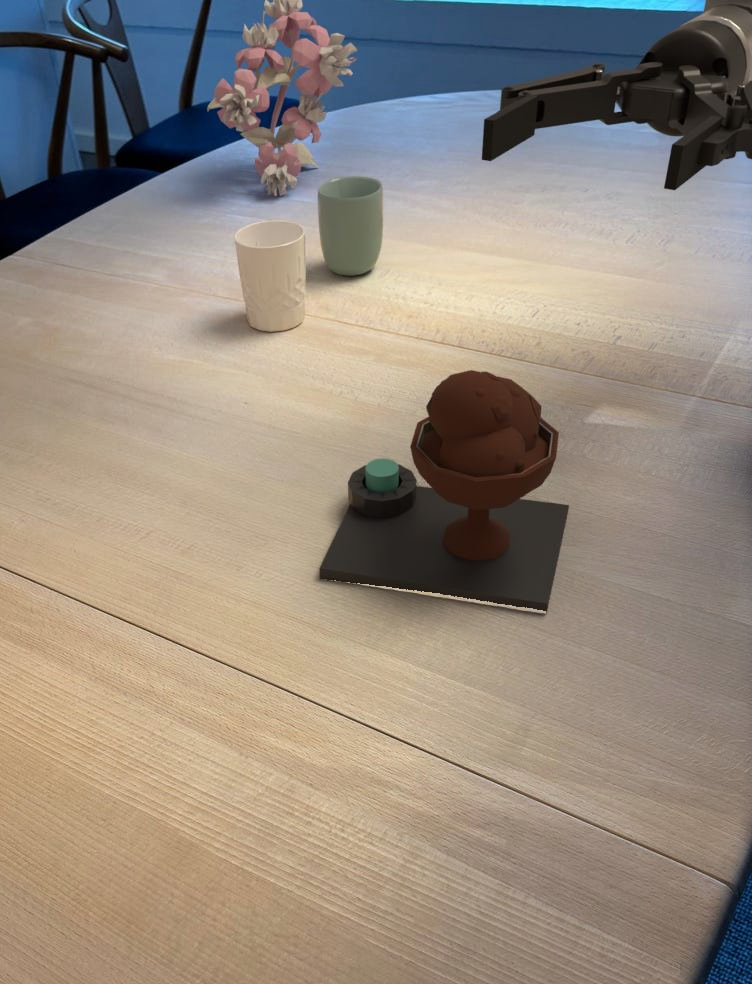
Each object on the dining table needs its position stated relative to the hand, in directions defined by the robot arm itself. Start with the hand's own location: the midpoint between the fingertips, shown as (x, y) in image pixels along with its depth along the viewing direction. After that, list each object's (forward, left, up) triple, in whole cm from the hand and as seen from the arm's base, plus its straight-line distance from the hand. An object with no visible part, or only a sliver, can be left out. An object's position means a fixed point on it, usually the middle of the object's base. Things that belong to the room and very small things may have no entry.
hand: (575, 153), depth 67 cm
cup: (+29, -44, -28) cm, 60 cm away
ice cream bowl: (+3, +9, -27) cm, 29 cm away
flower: (+48, -74, -28) cm, 92 cm away
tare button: (+12, +5, -25) cm, 29 cm away
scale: (+6, +9, -28) cm, 30 cm away
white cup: (+34, -29, -28) cm, 53 cm away
